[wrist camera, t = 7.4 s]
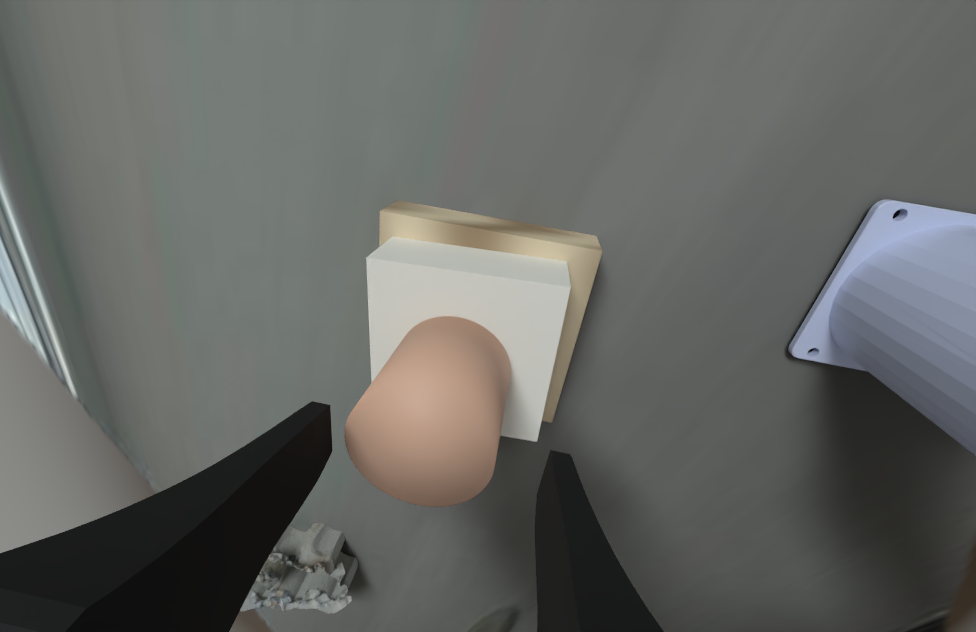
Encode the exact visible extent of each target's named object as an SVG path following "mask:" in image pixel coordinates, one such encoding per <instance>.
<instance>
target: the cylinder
mask: <svg viewBox="0 0 976 632" xmlns="http://www.w3.org/2000/svg"><path fill="white" fill-rule="evenodd" d="M510 375H511V368H510V362H509V358H508V355H507V353H506V351H505V349H504V347H503V345H502V344H501V343H500V341H499V340H498V339H497V338H496V337H495V336H494V335H493V334H492V333H491V332H490V331H489V330H487V329H486V328H484V327H483V326H481V325H479V324H477V323H475V322H473V321H471V320H468V319H465V318H460V317H454V316H440V317H434V318H430V319H427V320H425V321H422V322H420V323H419V324H417V325H416V326H414V327H413V328H412V329H411V330H410V331H409V332H408V333H407V334H406V336H405V337H404V338H403V340H402V341H401V343H400V344H399V345H398V347H397V348H396V350H395V351H394V352H393V354H392V355H391V357H390V358H389V359H388V361H387V362H386V364H385V365H384V366H383V368H382V369H381V371H380V372H379V373H378V375H377V376H376V378H375V379H374V380H373V382H372V383H371V385H370V386H369V387H368V389H367V390H366V392H365V393H364V395H363V396H362V397H361V399H360V400H359V402H358V403H357V404H356V406H355V407H354V409H353V410H352V412H351V413H350V415H349V417H348V419H347V422H346V426H345V443H346V447H347V451H348V453H349V455H350V458H351V460H352V461H353V463H354V465H355V466H356V468H357V469H358V470H359V471H360V473H361V474H362V475H363V476H364V477H365V478H366V479H367V480H368V481H369V482H371V483H372V484H373V485H374V486H376V487H377V488H378V489H380V490H381V491H383V492H385V493H387V494H388V495H390V496H392V497H395V498H397V499H399V500H402V501H405V502H408V503H412V504H415V505H421V506H430V507H444V506H452V505H456V504H460V503H463V502H465V501H468V500H470V499H471V498H473V497H475V496H476V495H478V494H479V493H480V492H481V491H482V490H483V489H484V488H485V487H486V486H487V484H488V483H489V482H490V480H491V477H492V475H493V472H494V468H495V463H496V457H497V451H498V445H499V440H500V434H501V428H502V422H503V417H504V411H505V405H506V399H507V394H508V388H509V382H510Z"/></svg>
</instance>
